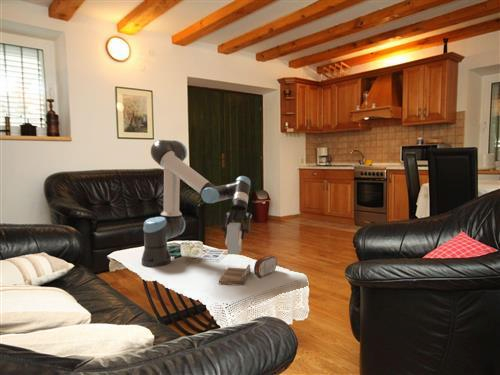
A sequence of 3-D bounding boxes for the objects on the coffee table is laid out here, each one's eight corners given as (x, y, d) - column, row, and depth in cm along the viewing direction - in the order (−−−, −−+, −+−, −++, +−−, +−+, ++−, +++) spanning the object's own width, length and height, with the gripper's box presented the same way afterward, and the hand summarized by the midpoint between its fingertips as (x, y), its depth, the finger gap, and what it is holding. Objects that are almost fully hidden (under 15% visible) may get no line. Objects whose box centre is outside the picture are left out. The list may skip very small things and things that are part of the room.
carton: (227, 254, 159) (226, 225, 158) (231, 250, 166) (230, 222, 165) (238, 254, 158) (238, 225, 157) (242, 250, 165) (241, 222, 164)
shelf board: (228, 270, 173) (228, 267, 173) (250, 271, 171) (250, 268, 171) (218, 283, 155) (218, 280, 155) (243, 285, 153) (243, 281, 153)
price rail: (248, 268, 171) (248, 264, 171) (250, 268, 171) (250, 264, 170) (241, 281, 153) (241, 277, 153) (243, 281, 153) (243, 277, 153)
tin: (272, 269, 174) (272, 252, 173) (277, 271, 172) (277, 254, 171) (253, 278, 162) (253, 260, 161) (258, 279, 160) (258, 261, 159)
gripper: (259, 208, 174) (254, 249, 159) (223, 207, 177) (214, 248, 162) (257, 198, 168) (251, 241, 153) (220, 198, 171) (211, 239, 157)
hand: (232, 244), depth 158 cm, fingers closed on carton, 5 cm apart
